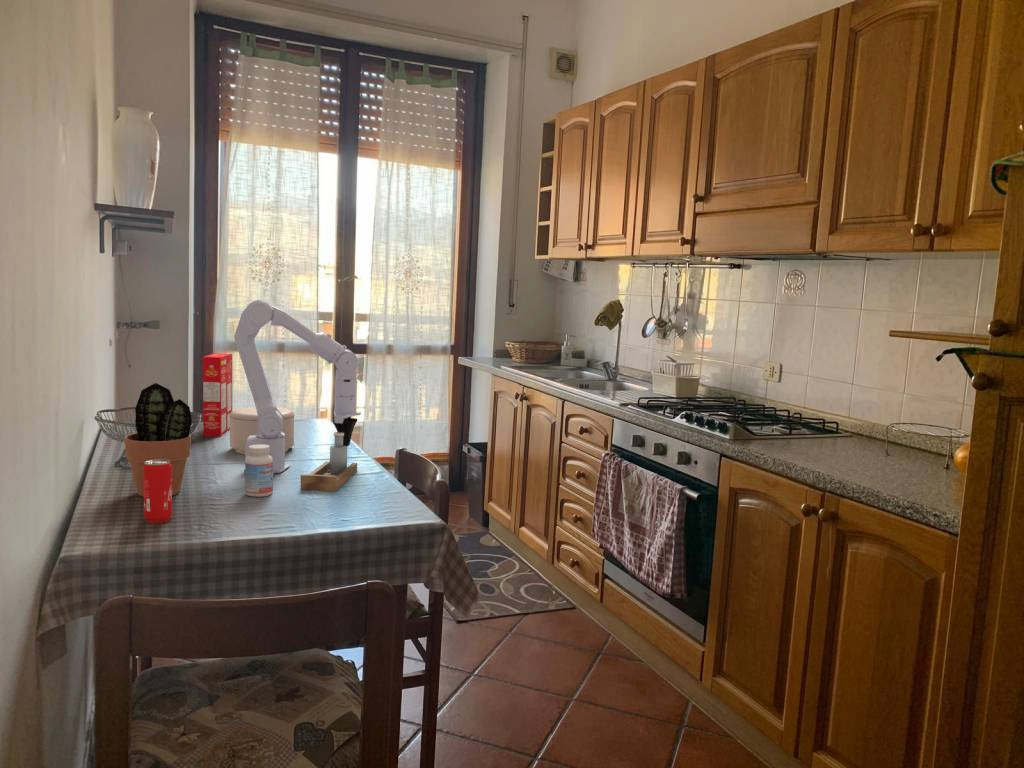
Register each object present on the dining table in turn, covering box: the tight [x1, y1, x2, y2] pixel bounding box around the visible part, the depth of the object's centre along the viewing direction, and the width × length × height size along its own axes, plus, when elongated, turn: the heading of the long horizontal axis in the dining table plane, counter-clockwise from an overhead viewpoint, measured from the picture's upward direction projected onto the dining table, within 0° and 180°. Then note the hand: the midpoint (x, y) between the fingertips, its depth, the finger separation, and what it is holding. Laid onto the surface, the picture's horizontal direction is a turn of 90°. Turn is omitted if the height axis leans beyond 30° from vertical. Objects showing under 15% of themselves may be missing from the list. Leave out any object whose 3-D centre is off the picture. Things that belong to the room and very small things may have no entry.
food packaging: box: [202, 352, 233, 437], centre depth 248 cm, size 15×5×25 cm, turn 6°
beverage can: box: [143, 459, 173, 524], centre depth 154 cm, size 5×5×12 cm
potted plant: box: [124, 382, 193, 498], centre depth 174 cm, size 14×14×25 cm
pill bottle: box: [244, 445, 274, 498], centre depth 177 cm, size 6×6×11 cm
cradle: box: [299, 461, 358, 492], centre depth 193 cm, size 8×21×4 cm, turn 178°
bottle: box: [329, 431, 348, 474], centre depth 200 cm, size 4×4×11 cm
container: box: [229, 406, 295, 455], centre depth 225 cm, size 18×18×12 cm
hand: (344, 445), depth 207 cm, fingers closed
